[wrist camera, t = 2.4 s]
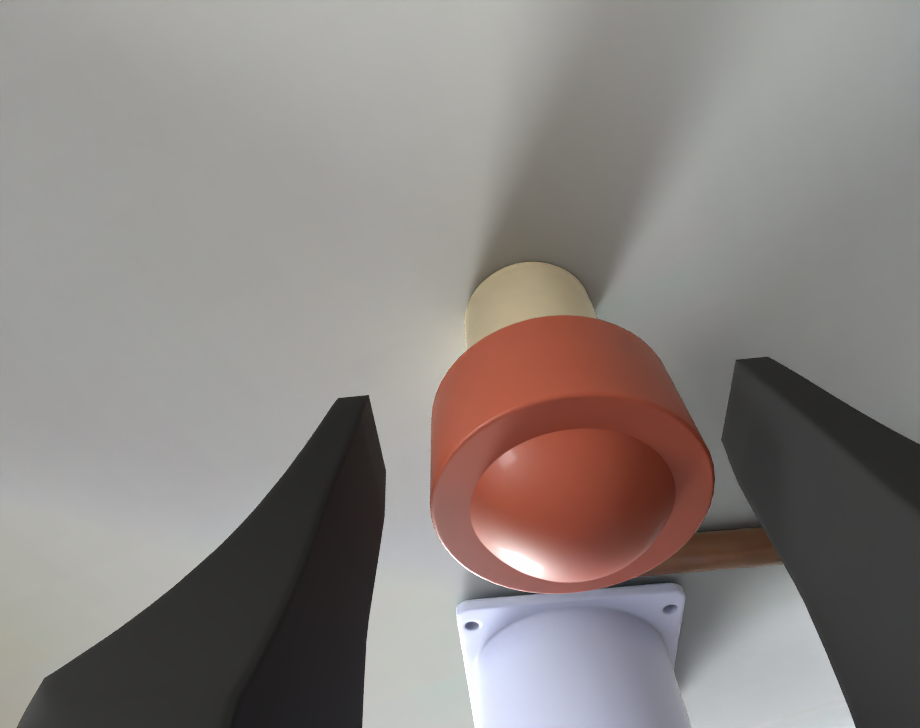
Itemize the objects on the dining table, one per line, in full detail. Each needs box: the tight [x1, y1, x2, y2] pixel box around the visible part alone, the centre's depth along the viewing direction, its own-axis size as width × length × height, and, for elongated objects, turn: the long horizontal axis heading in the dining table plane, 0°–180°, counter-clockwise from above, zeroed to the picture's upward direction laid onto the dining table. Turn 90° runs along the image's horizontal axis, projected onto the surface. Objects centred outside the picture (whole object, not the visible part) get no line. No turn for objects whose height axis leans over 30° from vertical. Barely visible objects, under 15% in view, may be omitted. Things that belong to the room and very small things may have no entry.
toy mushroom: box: [430, 262, 715, 594], centre depth 13 cm, size 5×5×7 cm
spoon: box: [637, 527, 783, 577], centre depth 20 cm, size 18×5×1 cm, turn 96°
